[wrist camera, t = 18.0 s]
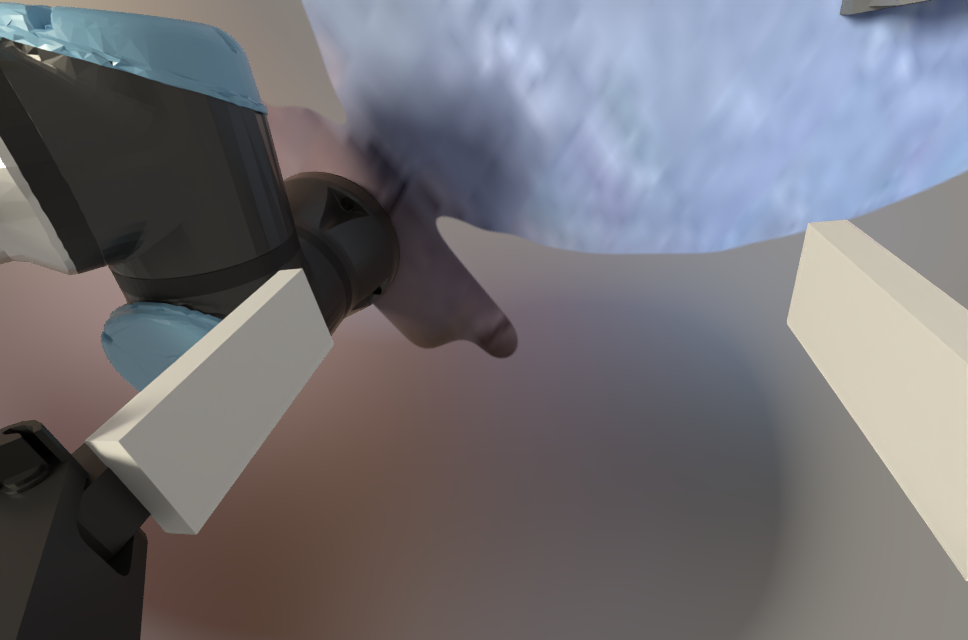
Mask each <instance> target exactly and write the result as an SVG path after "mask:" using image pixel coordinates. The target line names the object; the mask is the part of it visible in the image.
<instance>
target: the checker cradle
mask: <svg viewBox="0 0 968 640" xmlns="http://www.w3.org/2000/svg"><path fill="white" fill-rule="evenodd" d="M924 1H930V0H843V1H842V6H841V11H840V15H850V14H856V13H862V12H867V11H873V10H879V9H884V8H890V7H896V6H901V5H907V4H913V3H918V2H924Z"/></svg>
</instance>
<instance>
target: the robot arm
mask: <svg viewBox="0 0 968 640" xmlns="http://www.w3.org/2000/svg"><path fill="white" fill-rule="evenodd" d="M266 115H268V110H267V108H266V106H265V105H264V104H263V103H262V101H261V98H260V95H259V92H258V89H257V86H256V83H255V80H254V77H253V74H252V70H251V67H250V64H249V61H248V58H247V56H246V53H245V52H244V50H243V48H242V47H241V46H240V44H239V43H238V42H237V41H236V40H235V39H234V38H233V37H232V36H231V35H229V34H228V33H227V32H225V31H223V30H221V29H219V28H217V27H214V26H211V25H207V24H203V23H197V22H191V21H186V20H180V19H173V18H165V17H157V16H150V15H142V14H134V13H125V12H115V11H106V10H96V9H86V8H75V7H61V6H56V7H50V6H44V5H25V4H20V3H11V2H0V265H1V264H5V263H9V262H12V261H18V262H29V263H33V264H36V265H39V266H42V267H45V268H48V269H51V270H54V271H57V272H60V273H64V274H67V275H76V274H80V273H83V272H87V271H90V270H94V269H97V268H100V267H104V266H107V265H108V267H109V268H110V270H111V271H112V273H113V275H114V277H115V279H116V281H117V283H118V285H119V287H120V289H121V291H122V293H123V294H124V296H125V298H126V301H127V304H125V305H123V306H121V307H118V308H117V309H116V310H114V311H113V312H112V313H111V315H110V318H109V319H108V320H107V321H106V323H105V324H104V331H103V332H102V334H101V342H102V347H103V350H104V352H105V354H106V356H107V358H108V360H109V361H110V363H111V364H112V366H113V367H114V368H115V369H116V371H117V372H118V373H119V374H120V375H121V376H122V377H123V378H124V379H125V380H126V381H127V382H128V383H129V384H131V385H132V386H133V387H134V388H136V389H137V390H138V391H139V392H140V393H139V394H138V395H136V396H135V397H134V398H133V399H132V400H131V401H130V402H128V403H127V404H126V405H125V406H124V407H123V408H122V409H121V410H119V411H118V412H117V413H116V414H115V415H114V416H112V417H111V418H110V419H109V420H108V421H107V422H106V423H104V424H103V425H102V426H101V427H100V428H99V429H98V430H96V431H95V432H94V433H93V434H92V435H91V436H89V437H88V438H87V439H86V440H85V443H84V444H83V445H82V446H81V447H79V448H78V449H77V450H76V451H75V452H74V453H73V454H70V453H69V452H68V451H67V450H66V449H65V448H64V447H63V446H62V444H60V442H59V441H58V440H57V439H56V438H55V437H54V436H53V435H52V434H51V433H50V432H49V431H48V430H47V429H46V427H45V426H44V425H42V423H40V422H38V421H36V420H30V421H22V422H19V423H16V424H13V425H9V426H7V427H4V428H2V429H0V640H140V634H141V621H142V609H143V596H144V584H145V571H146V558H147V544H148V540H147V536H146V534H145V533H144V532H143V531H142V530H141V528H140V527H141V525H142V524H143V523H144V522H145V521H146V519H147V518H148V517H149V516H150V515H151V516H152V517H153V519H154V520H155V521H156V522H157V523H158V524H159V525H160V526H161V527H162V529H163V530H164V531H165V532H166V533H180V534H197V533H198V532H199V531H200V529H201V528H202V526H203V525H204V524H205V522H206V521H207V519H208V518H209V517H210V515H211V514H212V512H213V511H214V510H215V508H216V507H217V506H218V504H219V503H220V501H221V500H222V499H223V497H224V496H225V495H226V493H227V492H228V490H229V489H230V488H231V486H232V485H233V483H234V482H235V481H236V479H237V478H238V476H239V475H240V474H241V472H242V471H243V470H244V468H245V467H246V465H247V464H248V463H249V461H250V460H251V458H252V457H253V456H254V454H255V453H256V452H257V450H258V449H259V447H260V446H261V445H262V443H263V442H264V441H265V439H266V438H267V436H268V435H269V433H270V432H271V431H272V429H273V428H274V427H275V425H276V424H277V422H278V421H279V420H280V418H281V417H282V416H283V414H284V413H285V412H286V410H287V409H288V407H289V406H290V405H291V403H292V402H293V401H294V399H295V398H296V396H297V395H298V394H299V392H300V391H301V389H302V388H303V387H304V385H305V384H306V383H307V381H308V380H309V378H310V377H311V376H312V374H313V373H314V371H315V370H316V369H317V367H318V366H319V364H320V363H321V362H322V360H323V359H324V358H325V356H326V355H327V353H328V352H329V351H330V349H331V348H332V346H333V345H334V343H333V340H332V338H331V336H332V334H333V333H334V332H335V330H336V329H337V327H338V326H339V325H340V323H341V322H342V321H343V319H344V318H346V317H348V316H350V315H352V314H354V313H356V312H358V311H360V310H362V309H364V308H366V307H368V306H370V305H371V304H373V303H374V302H376V301H377V300H378V299H379V298H380V297H381V296H382V295H383V294H384V293H385V291H386V290H387V288H388V287H389V285H390V284H391V282H392V281H393V279H394V277H395V275H396V272H397V269H398V265H399V244H398V239H397V235H396V232H395V230H394V227H393V225H392V223H391V221H390V219H389V217H388V216H387V214H386V213H385V211H384V210H383V208H382V207H381V206H380V205H379V204H378V202H377V201H376V200H375V199H374V198H373V197H372V196H371V195H370V194H368V193H367V192H366V191H365V190H363V189H362V188H361V187H359V186H358V185H356V184H354V183H353V182H351V181H349V180H347V179H344V178H342V177H339V176H336V175H333V174H329V173H323V172H305V173H300V174H297V175H294V176H291V177H289V178H287V179H285V180H284V181H283V178H282V174H281V170H280V166H279V162H278V159H277V155H276V151H275V147H274V143H273V139H272V135H271V132H270V128H269V124H268V120H267V116H266ZM787 324H788V326H789V327H790V329H791V330H792V332H793V333H794V334H795V336H796V337H797V339H798V340H799V342H800V343H801V344H802V346H803V347H804V349H805V350H806V352H807V353H808V354H809V356H810V357H811V359H812V360H813V362H814V363H815V365H816V366H817V367H818V369H819V370H820V372H821V373H822V375H823V376H824V377H825V379H826V380H827V382H828V383H829V385H830V386H831V388H832V389H833V390H834V392H835V393H836V395H837V396H838V398H839V399H840V400H841V402H842V403H843V405H844V406H845V408H846V409H847V410H848V412H849V413H850V415H851V416H852V418H853V419H854V421H855V422H856V423H857V425H858V426H859V428H860V429H861V431H862V432H863V434H864V435H865V436H866V438H867V439H868V441H869V442H870V444H871V445H872V446H873V448H874V449H875V451H876V452H877V454H878V455H879V457H880V458H881V459H882V461H883V462H884V464H885V465H886V466H887V468H888V469H889V471H890V472H891V474H892V475H893V477H894V478H895V479H896V481H897V482H898V484H899V485H900V487H901V488H902V490H903V491H904V492H905V494H906V495H907V497H908V498H909V500H910V501H911V503H912V504H913V505H914V507H915V508H916V509H917V511H918V513H919V514H920V515H921V517H922V518H923V520H924V521H925V523H926V524H927V525H928V527H929V528H930V530H931V531H932V533H933V534H934V536H935V537H936V538H937V540H938V541H939V543H940V544H941V545H942V547H943V548H944V550H945V551H946V553H947V554H948V556H949V557H950V559H951V560H952V561H953V563H954V564H955V566H956V567H957V569H958V570H959V571H960V573H961V574H962V576H963V577H964V579H965V580H966V581H967V582H968V310H967V309H966V308H964V307H963V306H962V305H960V304H959V303H957V302H956V301H955V300H953V299H952V298H951V297H949V296H948V295H947V294H946V293H944V292H943V291H942V290H940V289H939V288H938V287H936V286H935V285H933V284H932V283H931V282H929V281H928V280H927V279H925V278H924V277H923V276H921V275H920V274H919V273H917V272H916V271H915V270H913V269H912V268H911V267H909V266H908V265H907V264H905V263H904V262H903V261H901V260H900V259H899V258H897V257H896V256H895V255H893V254H892V253H891V252H889V251H888V250H886V249H885V248H884V247H883V246H881V245H880V244H879V243H877V242H876V241H875V240H873V239H872V238H870V237H869V236H868V235H866V234H865V233H864V232H862V231H861V230H860V229H858V228H857V227H856V226H854V225H853V224H852V223H850V222H849V221H848V220H837V221H826V222H814V223H808V226H807V231H806V235H805V240H804V245H803V249H802V254H801V258H800V263H799V268H798V272H797V277H796V282H795V286H794V291H793V295H792V300H791V305H790V310H789V314H788V319H787Z"/></svg>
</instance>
